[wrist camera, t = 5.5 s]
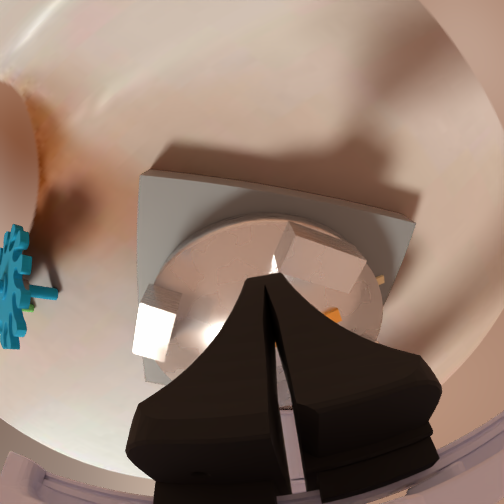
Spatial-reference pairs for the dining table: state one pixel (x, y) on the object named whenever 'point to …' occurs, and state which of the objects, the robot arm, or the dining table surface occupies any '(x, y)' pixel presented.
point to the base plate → (248, 202)
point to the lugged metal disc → (246, 266)
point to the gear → (17, 287)
